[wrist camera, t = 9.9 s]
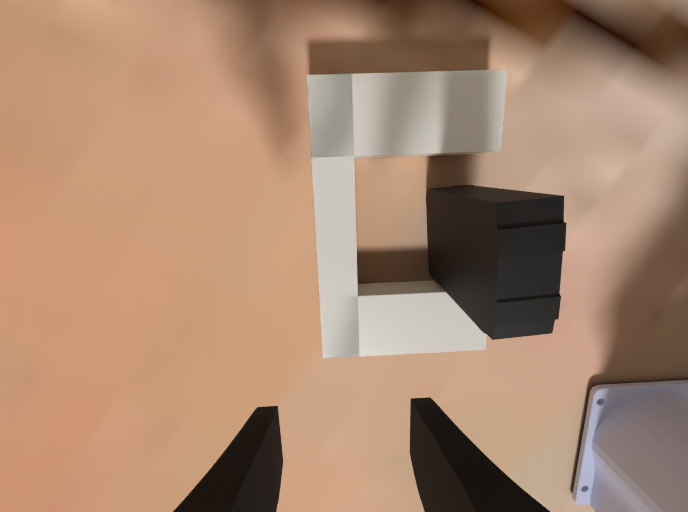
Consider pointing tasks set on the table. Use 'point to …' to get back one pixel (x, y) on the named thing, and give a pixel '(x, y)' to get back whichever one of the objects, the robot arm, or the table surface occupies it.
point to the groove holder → (339, 198)
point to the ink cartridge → (498, 256)
